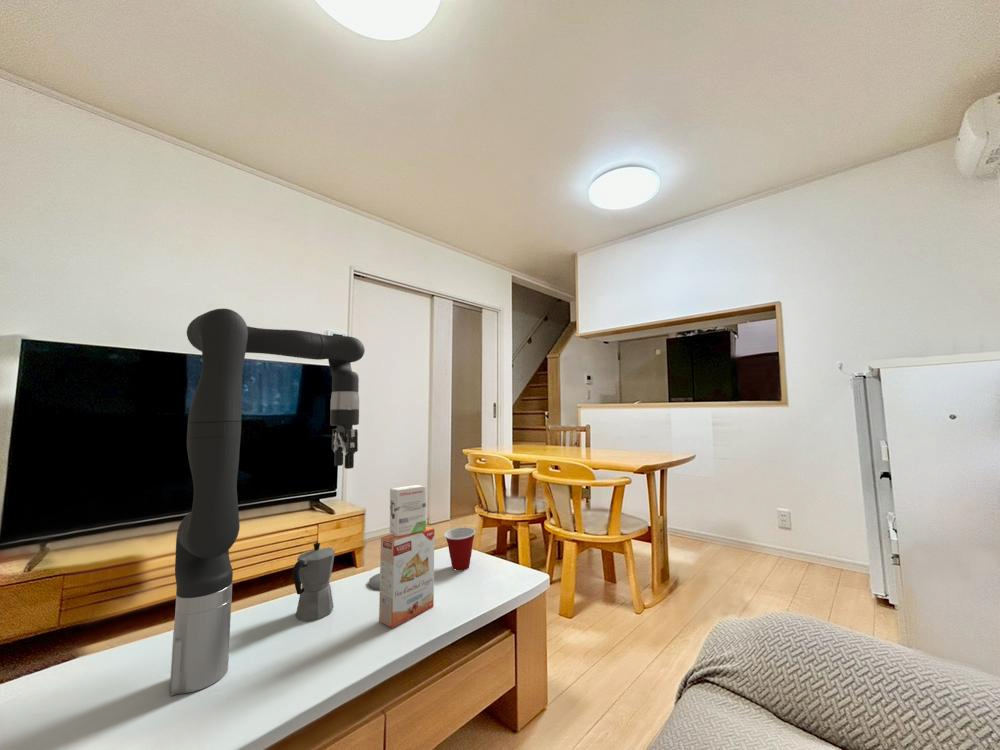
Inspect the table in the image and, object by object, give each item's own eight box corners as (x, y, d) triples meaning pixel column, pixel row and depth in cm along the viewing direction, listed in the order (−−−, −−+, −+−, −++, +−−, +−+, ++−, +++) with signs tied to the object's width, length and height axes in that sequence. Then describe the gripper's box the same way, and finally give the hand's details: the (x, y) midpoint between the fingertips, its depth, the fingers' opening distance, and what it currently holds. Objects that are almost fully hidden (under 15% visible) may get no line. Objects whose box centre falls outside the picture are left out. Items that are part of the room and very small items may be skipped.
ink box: (418, 526, 108) (418, 483, 110) (426, 530, 104) (426, 486, 106) (388, 532, 103) (389, 487, 105) (396, 537, 99) (396, 490, 101)
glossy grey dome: (378, 593, 114) (378, 590, 114) (363, 581, 123) (363, 577, 123) (415, 582, 122) (415, 578, 122) (398, 571, 131) (398, 567, 131)
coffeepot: (315, 600, 111) (317, 534, 113) (345, 602, 109) (346, 536, 111) (274, 629, 96) (277, 553, 98) (308, 632, 94) (310, 555, 96)
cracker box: (393, 630, 94) (393, 540, 97) (378, 622, 98) (379, 536, 100) (435, 607, 105) (435, 527, 108) (420, 601, 109) (420, 524, 111)
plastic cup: (437, 568, 132) (437, 532, 133) (460, 559, 140) (460, 525, 141) (459, 576, 125) (459, 538, 126) (482, 566, 133) (482, 530, 134)
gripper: (323, 409, 112) (321, 466, 110) (339, 407, 101) (337, 470, 99) (349, 409, 117) (348, 463, 115) (367, 407, 106) (366, 468, 104)
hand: (343, 467), depth 107 cm, fingers open, 8 cm apart
